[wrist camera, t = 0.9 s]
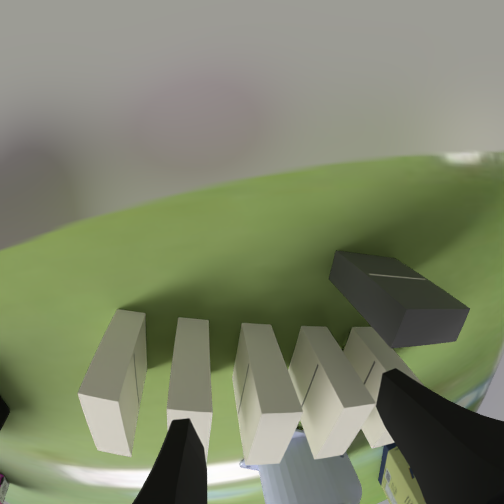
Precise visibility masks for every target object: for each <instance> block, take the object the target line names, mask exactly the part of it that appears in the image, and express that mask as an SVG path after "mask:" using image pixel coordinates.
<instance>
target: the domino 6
mask: <svg viewBox="0 0 504 504" xmlns="http://www.w3.org/2000/svg"><path fill="white" fill-rule="evenodd" d="M343 352H344V354H345V355H346V357H347V359H348V360H349V362H350V363H351V365H352V366H353V368H354V369H355V371H356V373H357V374H358V376H359V377H360V379H361V380H362V382H363V384H364V385H365V387H366V388H367V390H368V391H369V393H370V395H371V396H372V398H373V399H374V401H375V402H377V398H378V393H379V388H380V383H381V378H382V373H384V372H387V371H389V370H392V369H394V368H397V369H398V370H400V371H401V372H403V373H404V374H406V375H408V376H409V377H411V378H412V379H414V380H415V381H417V382H418V383H420V384H422V383H421V381H420V380H419V379H418V378H417V377H416V376H415V374H414V373H413V372H412V371H411V370H410V368H409V367H408V366H407V365H406V364H405V363H404V361H403V360H402V359H401V358H400V357H399V356H398V354H397V353H396V352H395V351H394V350H393V349H392V348H390V347H389V346H388V345H387V343H386V342H385V341H384V340H383V339H382V338H381V337H380V335H379V334H378V333H377V332H376V331H375V330H374V329H373V328H372V327H352V329H351V332H350V335H349V337H348V340H347V343H346V345H345V348H344V351H343ZM422 385H423V384H422ZM423 386H424V385H423ZM361 429H362V431H363V433H364V435H365V437H366V439H367V441H368V442H369V444H370V446H371V448H376V447H380V446H384V445H387V444H391V443H394V441H393V439H392V437H391V436H390V434H389V433H388V431H387V429H386V428H385V426H384V424H383V422H382V420H381V418H380V415H379V413H378V411H377V408H376V404H375V406H374V408H373V409H372V411H371V413H370V414H369V416H368V418H367V419H366V421H365V423H364V424H363V426H362V427H361Z"/></svg>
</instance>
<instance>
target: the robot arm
mask: <svg viewBox="0 0 504 504" xmlns="http://www.w3.org/2000/svg"><path fill="white" fill-rule="evenodd" d="M376 408H377V411H378V413H379V415H380V418H381V420H382V422H383V424H384V426H385V428H386V429H387V431H388V433H389V434H390V436H391V437H392V439H393V441H394V442H395V444H396V445H397V447H398V448H399V450H400V452H401V453H402V455H403V456H404V458H405V460H406V461H407V463H408V464H409V466H410V468H411V470H412V472H413V474H414V476H415V478H416V480H417V483H418V485H419V487H420V490H421V492H422V495H423V497H424V500H425V502H426V504H504V421H500V420H496V419H493V418H489V417H486V416H483V415H480V414H478V413H475V412H472V411H470V410H468V409H465V408H463V407H461V406H459V405H457V404H455V403H453V402H451V401H449V400H447V399H445V398H443V397H442V396H440V395H438V394H436V393H435V392H433V391H431V390H430V389H428V388H426V387H425V386H423V385H422V384H420V383H418V382H417V381H415V380H414V379H412V378H411V377H409V376H408V375H406V374H404V373H403V372H401V371H400V370H398V369H397V368H394V369H392V370H389V371H387V372H384V373H382V378H381V383H380V388H379V393H378V398H377V402H376ZM240 467H242V468H247V469H252V470H258V471H259V475H260V480H261V484H262V489H263V494H264V499H265V503H266V504H359V503H360V500H361V496H362V487H361V483H360V481H359V479H358V477H357V474H356V472H355V470H354V468H353V466H352V464H351V461H350V459H349V457H348V455H347V453H346V452H345V453H344V454H343V455H339V456H334V457H328V458H321V459H315V460H314V457H313V454H312V452H311V449H310V446H309V443H308V440H307V438H306V435H305V432H304V431H303V430H299V429H296V430H295V432H294V434H293V436H292V439H291V441H290V443H289V445H288V447H287V449H286V451H285V453H284V455H283V457H282V460H281V462H280V463H278V464H263V465H245V460H243V461H242V462H240ZM132 504H207V467H206V458H205V451H204V446H203V444H202V442H201V440H200V438H199V436H198V434H197V433H196V430H195V428H194V426H193V424H192V422H191V420H190V418H187V419H176V420H173V421H172V422H171V424H170V427H169V430H168V432H167V435H166V438H165V440H164V443H163V445H162V448H161V450H160V452H159V455H158V457H157V459H156V461H155V463H154V466H153V468H152V470H151V472H150V474H149V476H148V478H147V479H146V481H145V483H144V485H143V487H142V489H141V490H140V492H139V494H138V495H137V497H136V499H135V500H134V502H133V503H132Z"/></svg>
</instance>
